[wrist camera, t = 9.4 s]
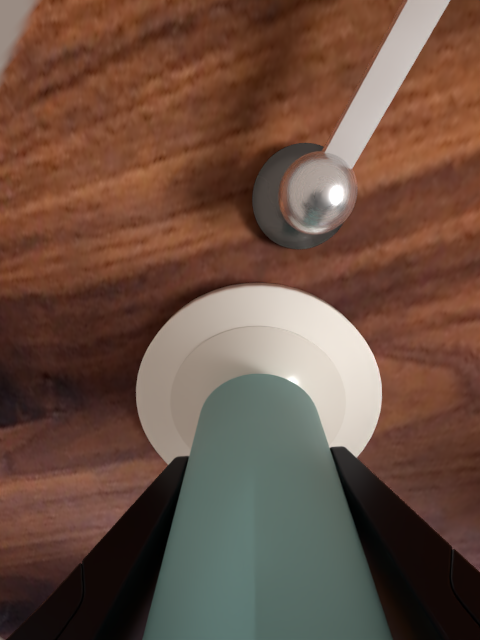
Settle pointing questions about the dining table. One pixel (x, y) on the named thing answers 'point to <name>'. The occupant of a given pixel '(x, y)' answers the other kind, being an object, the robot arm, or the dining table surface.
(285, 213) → the railing
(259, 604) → the peg
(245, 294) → the saucer
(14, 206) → the dining table surface
